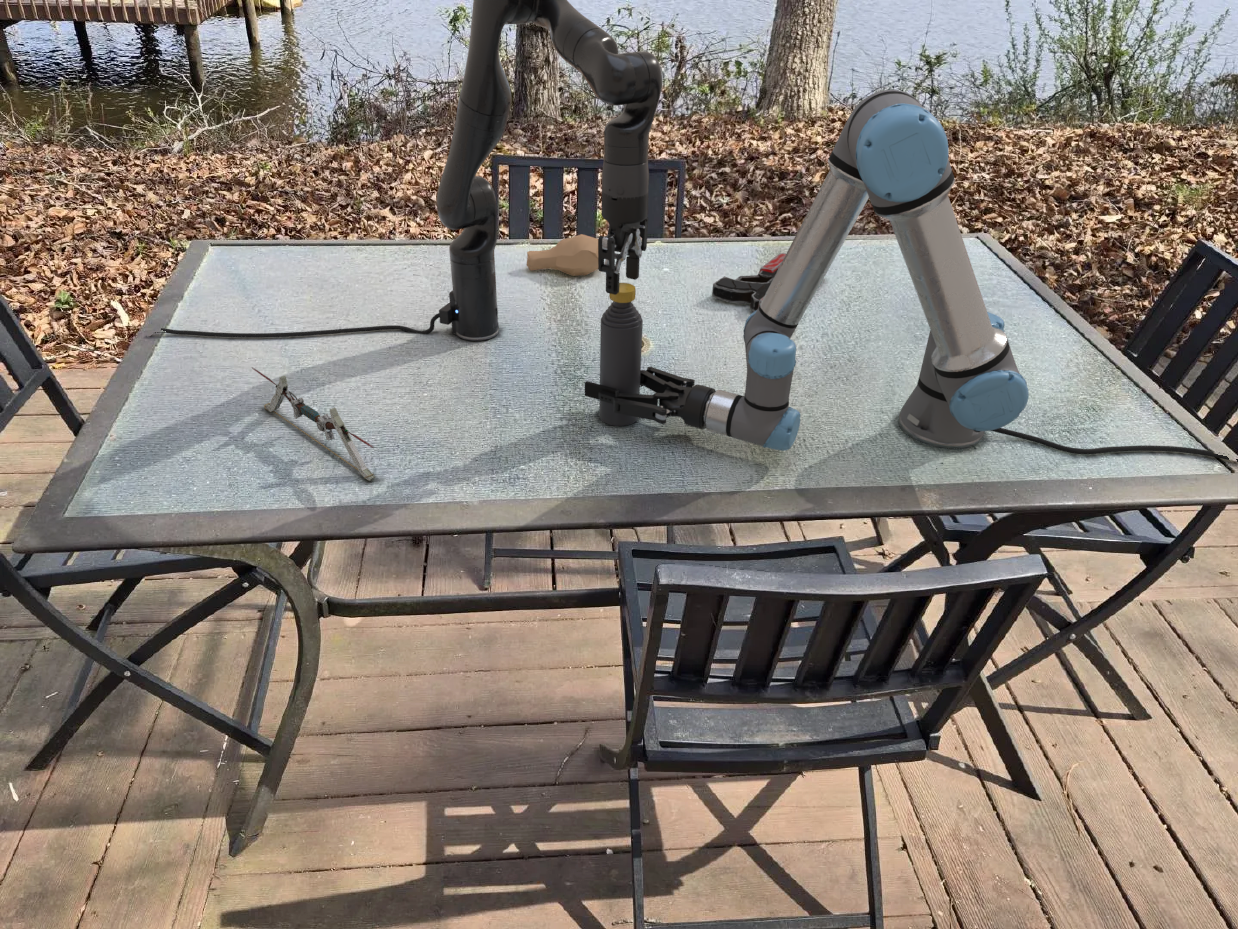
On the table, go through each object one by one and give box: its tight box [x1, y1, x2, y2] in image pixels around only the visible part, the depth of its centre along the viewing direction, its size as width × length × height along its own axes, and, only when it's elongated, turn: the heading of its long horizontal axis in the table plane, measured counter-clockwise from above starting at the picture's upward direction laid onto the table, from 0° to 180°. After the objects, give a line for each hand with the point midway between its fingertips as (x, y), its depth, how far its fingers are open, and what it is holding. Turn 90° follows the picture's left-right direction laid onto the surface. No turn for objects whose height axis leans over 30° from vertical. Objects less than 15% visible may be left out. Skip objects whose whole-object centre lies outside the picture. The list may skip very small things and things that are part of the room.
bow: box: [250, 366, 376, 482], centre depth 151 cm, size 39×2×10 cm, turn 47°
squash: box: [526, 233, 599, 277], centre depth 222 cm, size 11×20×9 cm, turn 90°
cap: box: [608, 282, 637, 303], centre depth 151 cm, size 4×4×2 cm
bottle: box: [598, 301, 644, 427], centre depth 157 cm, size 7×7×25 cm
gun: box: [711, 252, 787, 313], centre depth 215 cm, size 4×31×19 cm
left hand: (622, 285), depth 150 cm, fingers open, 7 cm apart
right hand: (596, 379), depth 162 cm, fingers closed on bottle, 7 cm apart
